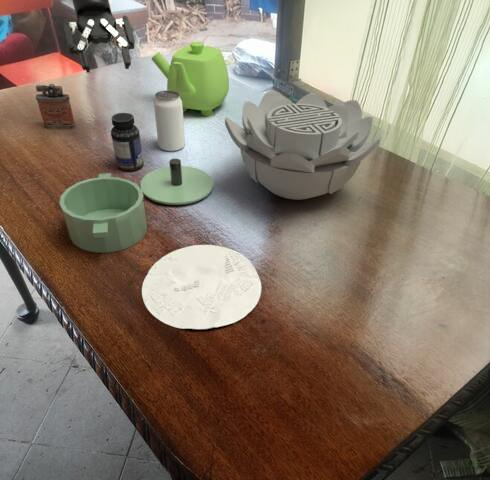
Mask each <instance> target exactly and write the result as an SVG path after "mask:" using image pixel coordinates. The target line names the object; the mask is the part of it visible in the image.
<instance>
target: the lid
mask: <svg viewBox="0 0 490 480" xmlns="http://www.w3.org/2000/svg"><path fill="white" fill-rule="evenodd" d="M168 164H169V166H162V167H160V168H157V169H156V168H155V169H154V170H151V171H149V172H148V173H147V174H145V175H144V176H143V177H142V179H141V180H140V184H139V187H140V189H141V190H142V191H143V196H144V197H146V198H147V199H148V200H151V201H152V202H155V203H158V204H163V205H170V206H171V205H173V206H176V205H178V206H180V205H188V204H192V203H196V202H199V201H200V200H203V199H205V198H207V196H209V195H210V194H211V192H212V191H213V189H214V180H213V179H212V176H210V174H209V173H207V172H206V171H204V170H202V169H199V168H196V167H193V166H188V165H182V161H181V159H179V158H171V159H170V160H169V161H168Z"/></svg>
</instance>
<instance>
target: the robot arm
mask: <svg viewBox="0 0 490 480" xmlns="http://www.w3.org/2000/svg"><path fill="white" fill-rule="evenodd" d="M72 4H73V8H74V12H75V16H76V21H70V20H69V19H67V18H64V19H63V20H62V21H63V29H64V32H65V38H66V39H65V40H66V44H67V48H68V53H69V55H70V54H71V55H74V54H75V55H77V56H78V58H79V62H80V65H81V69H82V70H83V71H85V73H87V74H89V73H91V70H90V64H89V61H88V56H87V53H86V51H87V50H88V49H89V47H90V45H91V43H92V44H93V45H98V44H101V43H102V44H108V43H109V42H110V43H111V44H112V45H113V46H115V47H117V49H119V50H120V51H121V56H122V61H123V64H124V69H125V70H129V69H130V67H131V65H132V59H131V55H130V50H134V49H135V44H136V39H135V35H134V33H133V30H132V27H131V23H130V20H129V17H128V16H127V15H126V14H125V15H124V14H123V16H122V17H121V18H115V17H114V15H113V13H112V9H111V5H110V1H109V0H72ZM117 27H119V29H120V31H122V32H124V35H125V39H126V40H125V39H124V37H122V36H121V34H120V33H119V32H118V31H117V30H116V29H117ZM76 30H78V32H79V33H81V35H80V39H79V42H78V43H77V44H75V43H74V38H73V35H74V34H76Z"/></svg>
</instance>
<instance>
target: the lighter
mask: <svg viewBox="0 0 490 480" xmlns="http://www.w3.org/2000/svg"><path fill="white" fill-rule="evenodd" d="M35 91H36V92H37V93H38V94H35V96H34V97H35V101H37V102H36V103H37V105H38V108H39V109H38V110H39V112H40V116H41V119H42V125H43V128H45V129H49V130H50V129H51V130H71V129H75V128H77V123H76V121H75V119H74V114H73V110H72V106H71V102H70V95H69V94H67V93H64V92H63V91H64V90H63V86H62V85H56V84H54V83H50V84H49V85H46V84H36V85H35ZM41 92H42V93H41Z"/></svg>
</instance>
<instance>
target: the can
mask: <svg viewBox="0 0 490 480" xmlns="http://www.w3.org/2000/svg"><path fill="white" fill-rule="evenodd" d="M153 108H154V118H155V127H156V134H157V136H156V137H157V143H158V147H159V148H160V149H161V150H162V151H165V152H178V151H181V150H182V149H184V147H185V145H186V141H185V140H186V139H185V125H184V124H185V123H184V111H183V108H182V100H181V98H180V94H179V93H178V92H176V91H171V90H167V89H166V90H160V91H158V92H156V93H155V94H154V100H153Z"/></svg>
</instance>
